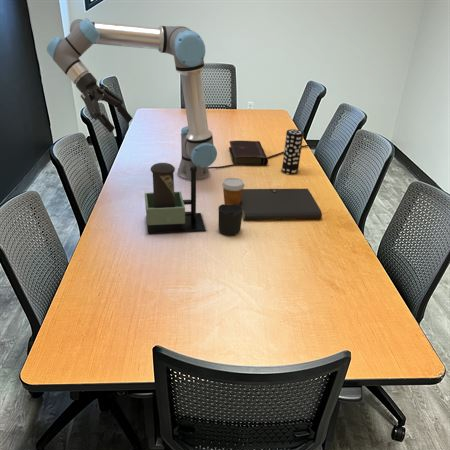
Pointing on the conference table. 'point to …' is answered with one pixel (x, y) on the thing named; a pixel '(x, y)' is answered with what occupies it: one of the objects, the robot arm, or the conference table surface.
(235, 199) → the disposable coffee cup
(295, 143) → the white-spotted black cylinder
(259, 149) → the diary
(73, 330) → the conference table surface
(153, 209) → the green box on stand
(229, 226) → the pen holder
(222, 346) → the conference table surface
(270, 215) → the file folder
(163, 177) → the container
